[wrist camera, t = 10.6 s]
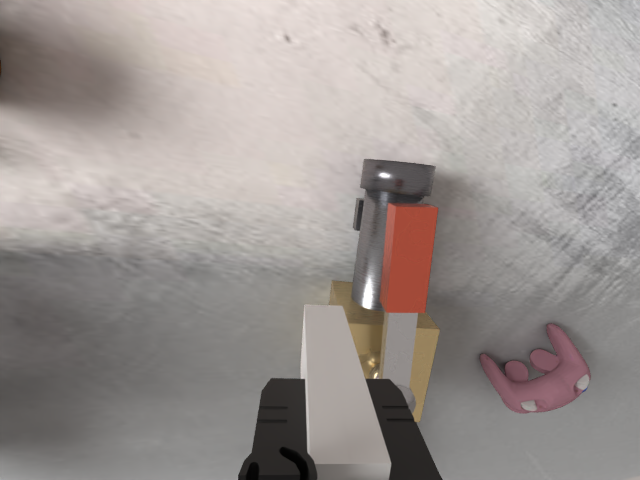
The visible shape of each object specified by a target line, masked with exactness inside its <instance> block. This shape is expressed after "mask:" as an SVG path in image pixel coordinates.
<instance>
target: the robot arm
mask: <svg viewBox="0 0 640 480" xmlns="http://www.w3.org/2000/svg"><path fill="white" fill-rule="evenodd" d="M238 480H443V479H442V478H441V476H440V474H439V472H438V470H437V468H436V466H435V463H434V461H433V459H432V457H431V455H430V452H429V450H428V448H427V446H426V444H425V441H424V439H423V437H422V435H421V433H420V430H419V428H418V426H417V424H416V422H415V421H414V417H413V415H412V413H411V410H410V409H409V406H408V404H407V402H406V399H405V397H404V395H403V393H402V391H401V390H400V389H399V388H398V387H397V386H396V385H395V384H394V383H393V382H392V381H391V380H390V379H365V377H364V373H363V370H362V367H361V364H360V360H359V357H358V354H357V351H356V348H355V344H354V341H353V338H352V335H351V331H350V328H349V325H348V322H347V318H346V315H345V312H344V309H343V306H334V305H305V304H304V320H303V336H302V352H301V379H283V378H271V379H270V381H269V382H268V383H267V385H266V386H265V387H264V389H263V390H262V393H261V399H260V405H259V411H258V418H257V424H256V430H255V436H254V442H253V448H252V453H251V454H250V455H249V456H248V457H247V458H246V460H245V461H244V463H243V465H242V468H241V470H240V473H239V475H238Z"/></svg>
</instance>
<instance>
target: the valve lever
mask: <svg viewBox="0 0 640 480" xmlns="http://www.w3.org/2000/svg"><path fill="white" fill-rule="evenodd" d="M437 213H438V207H435V206H431V205H428V204H410V203H388V210H387V221H386V233H385V245H384V257H383V268H382V280H381V292H380V302H381V304H382V306H383V308H384V310H385V313H384V324H383V335H382V346H381V357H380V368H379V379H390V380H391V381H392V382H393V383H394V384H395V385H396V386H397V387H398V388H399V389H400V390H401V391H402V393H403V395H404V397H405V399H406V402H407V404H408V406H409V409H410V410H411V413H413V412H414V410H415V406H416V400H415V397H414V395H413V392H412V390H411V388H410V386H409V385H410V377H411V368H412V360H413V351H414V343H415V335H416V326H417V318H418V313H425V309H426V301H427V293H428V285H429V277H430V269H431V261H432V253H433V245H434V237H435V229H436V221H437Z"/></svg>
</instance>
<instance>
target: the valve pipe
mask: <svg viewBox="0 0 640 480" xmlns="http://www.w3.org/2000/svg"><path fill="white" fill-rule="evenodd" d="M435 167H436V166H431V165H424V164H416V163H407V162H397V161H386V160H373V159H364V163H363V170H362V178H361V185H360V188H364V189H366V190H365V198H364V199H360V198H357V200H356V208H355V215H354V223H353V228H354V229H355V230H357V231H360V234H359V241H358V248H357V256H356V263H355V270H354V277H353V282H342V281H332V284H331V292H330V301H329V305H334V306H343V309H344V312H345V315H346V318H347V322H348V325H349V328H350V331H351V335H352V338H353V341H354V344H355V348H356V351H357V354H358V357H359V360H360V364H361V367H362V370H363V373H364V377H365V379H379V368H380V357H381V346H382V335H383V324H384V313H385V310H384V308H383V306H382V304H381V302H380V292H381V280H382V268H383V257H384V245H385V233H386V221H387V210H388V203H410V204H422V203H423V198H424V196H430V194H431V189H432V183H433V178H434V173H435ZM439 332H440V329H439V328H438V327H437V325H436V324H435V323H434V322H433V321H432V319H431V318H430V317H429V316H428V314H427V313H426V312H425V313H418V318H417V326H416V335H415V343H414V351H413V360H412V368H411V377H410V385H409V386H410V388H411V390H412V392H413V395H414V397H415V400H416V406H415V410H414V412H413V413H412V415H413V417H414V421H415V422H420V419H421V415H422V410H423V405H424V401H425V396H426V392H427V387H428V382H429V378H430V373H431V369H432V364H433V359H434V355H435V350H436V345H437V341H438V336H439Z"/></svg>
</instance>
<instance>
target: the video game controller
mask: <svg viewBox="0 0 640 480" xmlns="http://www.w3.org/2000/svg"><path fill="white" fill-rule="evenodd" d="M547 334H548V337H549V339H550V341H551V344H552V346H553V348H554V350H555V351H556V353H557V355H553V354H551V353H549V352H547V351H545V350H542V349H536V350H534V351H533V352H532V353H531V355H530V364H531V366H532V367H533V368H534V369H536V370H537V371H539V372H541V373H544V374H545V375H543V376H541V377H538V378H535V379H533V380H530V381H528V376H529V374H528V370H527V368H526V366H525V365H524V364H523V363H521V362H519V361H509V362H508V363H506V365H505V370H504V371H505V375H504V374H503V373H502V371H501V370H500V369H499V367H498V366H497V365H496V363H495V362H494V361H493V360H492V359H491V358H490V357H489V356H487V355H486V354H481V355H480V362H481V365H482V367H483V369H484V371H485V373H486V375H487V377H488V378H489V380H490V382H491V383H492V385H493V386H494V388H495V389H496V391H497V392H498V393H499V395H500V396H501V398H502V400H503V402H504V404H505V405H506V406H507V407H508V408H509V409H510V410H512V411H514V412H517V413H529V412H545V411H550V410H554V409H557V408H560V407H563V406H564V405H566V404H568V403H570V402H572V401H573V400H575V399H576V398H577V397H578V396H579V395H580V394H581V393H582V392H584V391H586V389H587V388H588V384H589V381H590V378H591V375H590V371H589V367H588V366H587V364H586V362H585V360H584V359H583V357H582V356H581V354H580V353H579V351H578V350H577V348H576V347H575V345H574V344H573V343H572V341H571V340H570V338H569V337H568V336H567V334H566V333H565V332H564V331H563V330H562V329H561V328H560V327H558V326H557V325H555V324H552V323H550V324H548V325H547Z"/></svg>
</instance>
